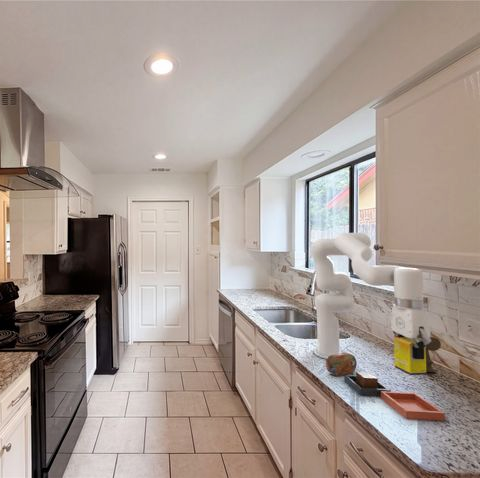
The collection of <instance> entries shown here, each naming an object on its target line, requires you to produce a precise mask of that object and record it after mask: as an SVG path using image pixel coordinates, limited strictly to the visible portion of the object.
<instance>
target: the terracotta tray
mask: <svg viewBox="0 0 480 478" xmlns="http://www.w3.org/2000/svg"><path fill="white" fill-rule="evenodd" d="M380 399H382V400H383V401H384V402H386V404H388V405H389V406H390V407H392V408H393V409H394V410H395V411H396V412H397V413H399V414H400V415H401V416H402V417H404V418H405V419H408V420H409V419H410V420H424V421H425V420H426V421H427V420H428V421H442V422H443V421H444V422H445V421H446V413H445V412H444V411H443V410H441V409H439V408H438V407H436V406H435V405H433V404H432V403H431V402H429V401H428V400H426V399H425V398H423V397H422V396H420V395H419V394H418V393H416V392H405V391H404V392H403V391H391V392H387V391H381V396H380Z"/></svg>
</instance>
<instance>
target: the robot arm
mask: <svg viewBox="0 0 480 478" xmlns="http://www.w3.org/2000/svg"><path fill="white" fill-rule="evenodd" d="M371 246H372V239H371V237H370V236H369V235H368V234H366V233H363V232H342V233H339V234H337V235H335V237H334V238H321V239H318V240H315V241H313V243H312V245H311V251H310V252H311V257H312V259H313V262H314V270H315V282H316V286H317V288H318V289H319V290H320V291H323V292H330V293H320V294H317V295H316V296H315V297H314V306H315V311H316V312H315V313H316V326H317V327H316V329H317V331H316V334H317V335H316V337H317V343H316V345H317V348H315V349H314V350H313V352H314V355H316V356H317V357H319V358H322V359H325V360H327V358H328V357H329V356H330V355H335V354H340V353H341V351H340V322H339V319H338V317H337V316H336V314H335V313H349V312H351V311H353V310H354V306H355V302H354V301H355V300H354V299H355V298H354V291H353V281H352V279H351V277H350V276H349V275H348V274H347V273H345V272H343V271H341V272H339V271H338V272H337V271H335V263H334V262H333V260H332V258H330V256H345V257H347V258H349V259H350V260H351V269H352V271H353V273H354V274H355V275H356V276H357V277H358V278H359V279H360V280H361V281H363V282H364V283H366V284H367V285H369V286H374V287H377V286H378V287H379V286H381V287H382V286H387V287H389V286H393V302H394V303H393V305H392V309H391V314H390V315H391V316H390V329H391V330H392V332H393V335H394V337H393V338H395V337H407V338H410V339H412V341H413V344H414V347H412V355H413V358H414V359H424V348H426V346H427V345H428V344H429V343H430V342H431V339H430V338H429V337H430V336H429V335H428V325H427V317H426V313H425V308H424V307H425V306H424V273H423V270H421V269H420V268H413V267H404V266H400V265H372V264H370V263H369V261H370V260H371V259H372V257H373V256H374V255H373V254H374V251H373V249H372V248H371ZM331 292H333V293H331ZM334 292H336V293H334ZM417 337H419V338H417ZM417 340H419V341H420V342H418V343H417Z"/></svg>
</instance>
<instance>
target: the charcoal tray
mask: <svg viewBox="0 0 480 478" xmlns="http://www.w3.org/2000/svg"><path fill="white" fill-rule="evenodd" d="M343 377H344V382H345V383H346V384H347V385H348V386H350V387H351V388H352V390H354V391H355V392H356V393H357V394H358V395H359V396H364V397H365V396H366V397H381V391H387V392H392V390H391V389H389V388H388V387H387V386H385V385H384V384H383V383H382V382H380V381H379V380H378V389H373V388H361V387H360V386H359V385H357V384H356V374H353V375H352V374H345V375H343Z"/></svg>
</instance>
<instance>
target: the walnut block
mask: <svg viewBox="0 0 480 478" xmlns="http://www.w3.org/2000/svg"><path fill="white" fill-rule="evenodd" d="M355 375H356V384H357V385H359V386H360V387H361V388H373V389H378V381H379V378H378V377H376V376H375V375H374V374H373V373H371V372H370V371H355Z"/></svg>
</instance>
